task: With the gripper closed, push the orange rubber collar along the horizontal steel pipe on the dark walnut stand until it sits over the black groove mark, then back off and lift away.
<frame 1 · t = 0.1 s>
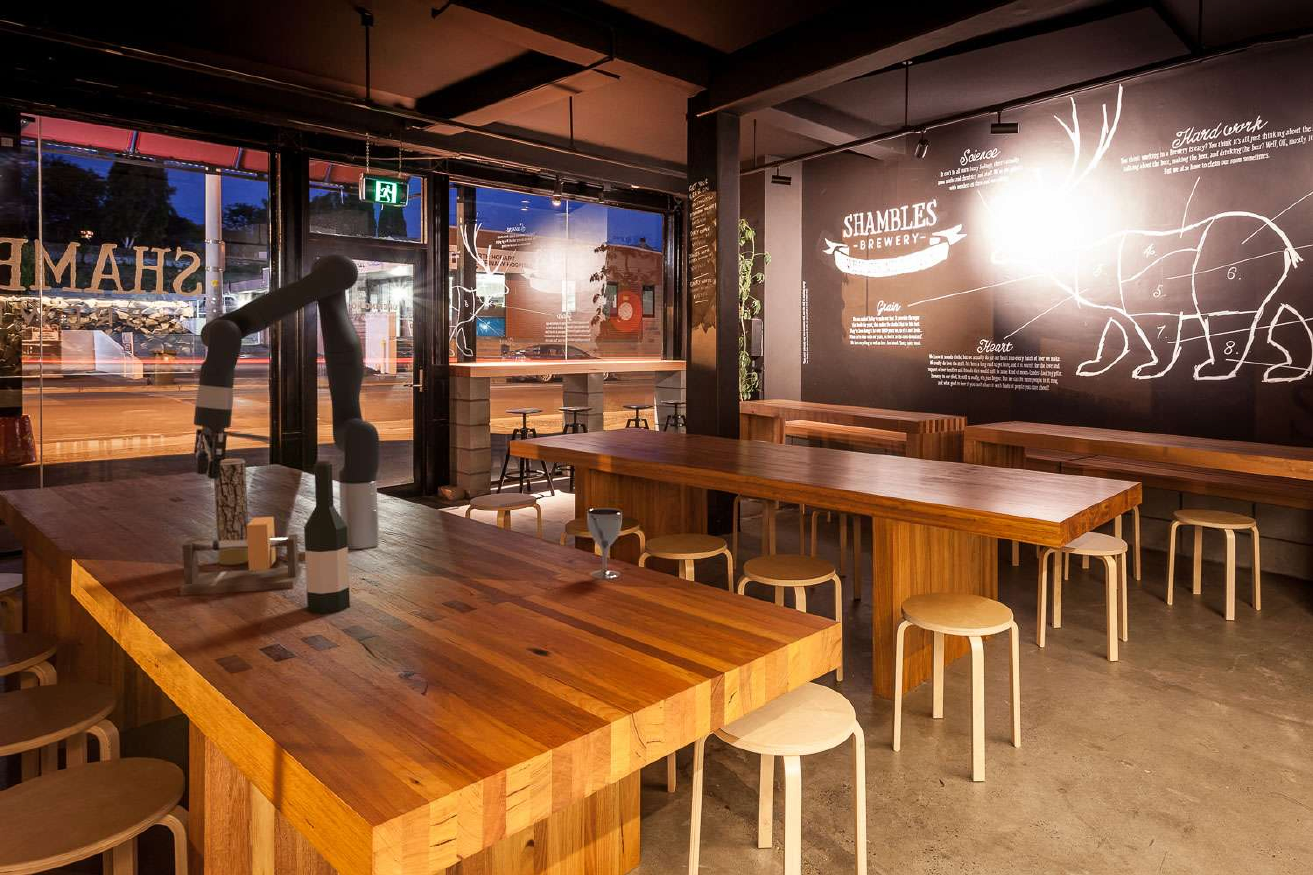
hand: (207, 476, 190), 22 cm above the table, tool pointing down, fingers open, 8 cm apart
bark log section: (234, 563, 200), on the table
pipe stand: (243, 583, 182), on the table
collar: (261, 543, 182), point 9 cm above the table, slide at 0.0 cm
wine glass: (604, 575, 191), on the table
wine bottle: (328, 608, 166), on the table
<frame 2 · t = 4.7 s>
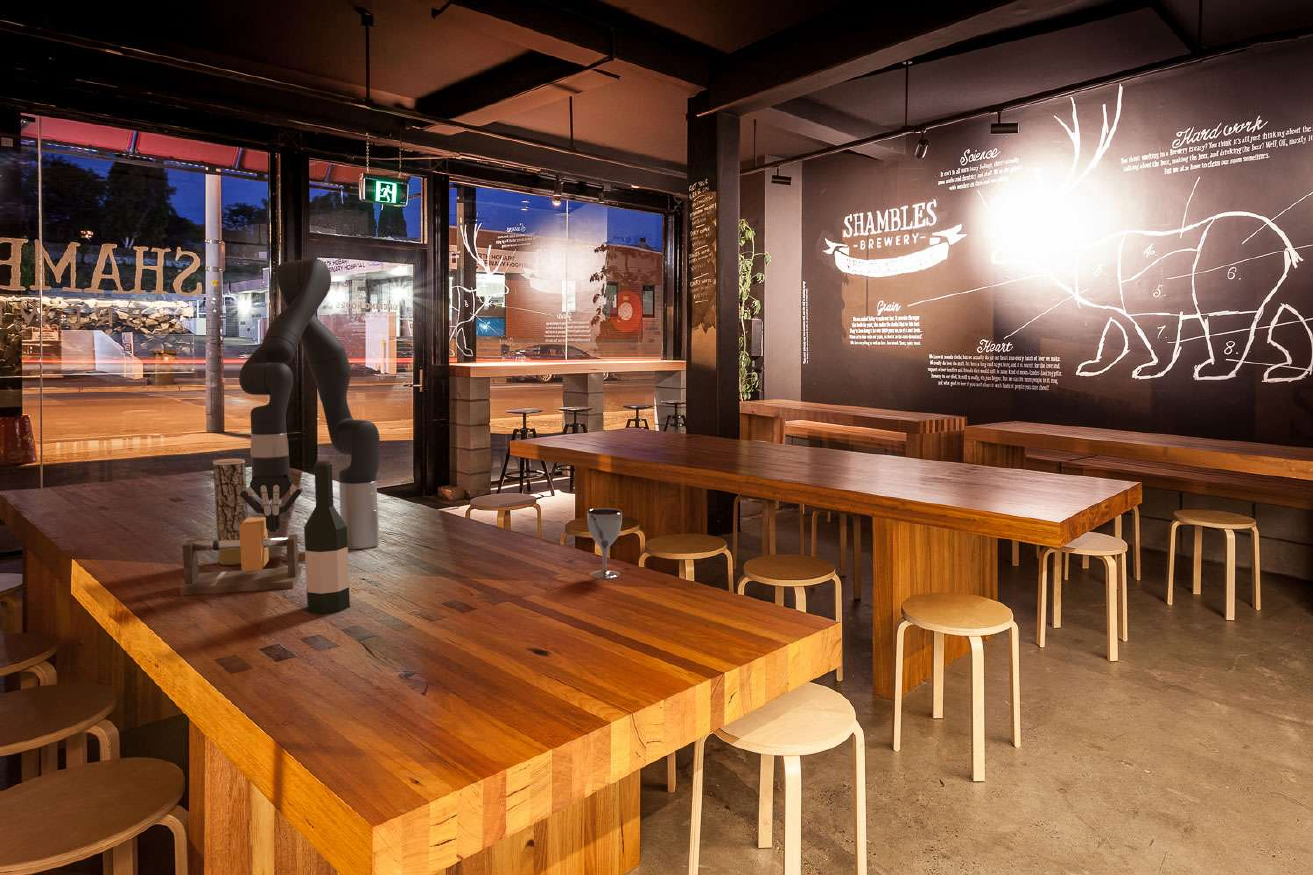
hand: (273, 531, 182), 12 cm above the table, tool pointing down, fingers closed
collar: (254, 543, 182), point 9 cm above the table, slide at 1.4 cm, touching gripper
everything else where it was.
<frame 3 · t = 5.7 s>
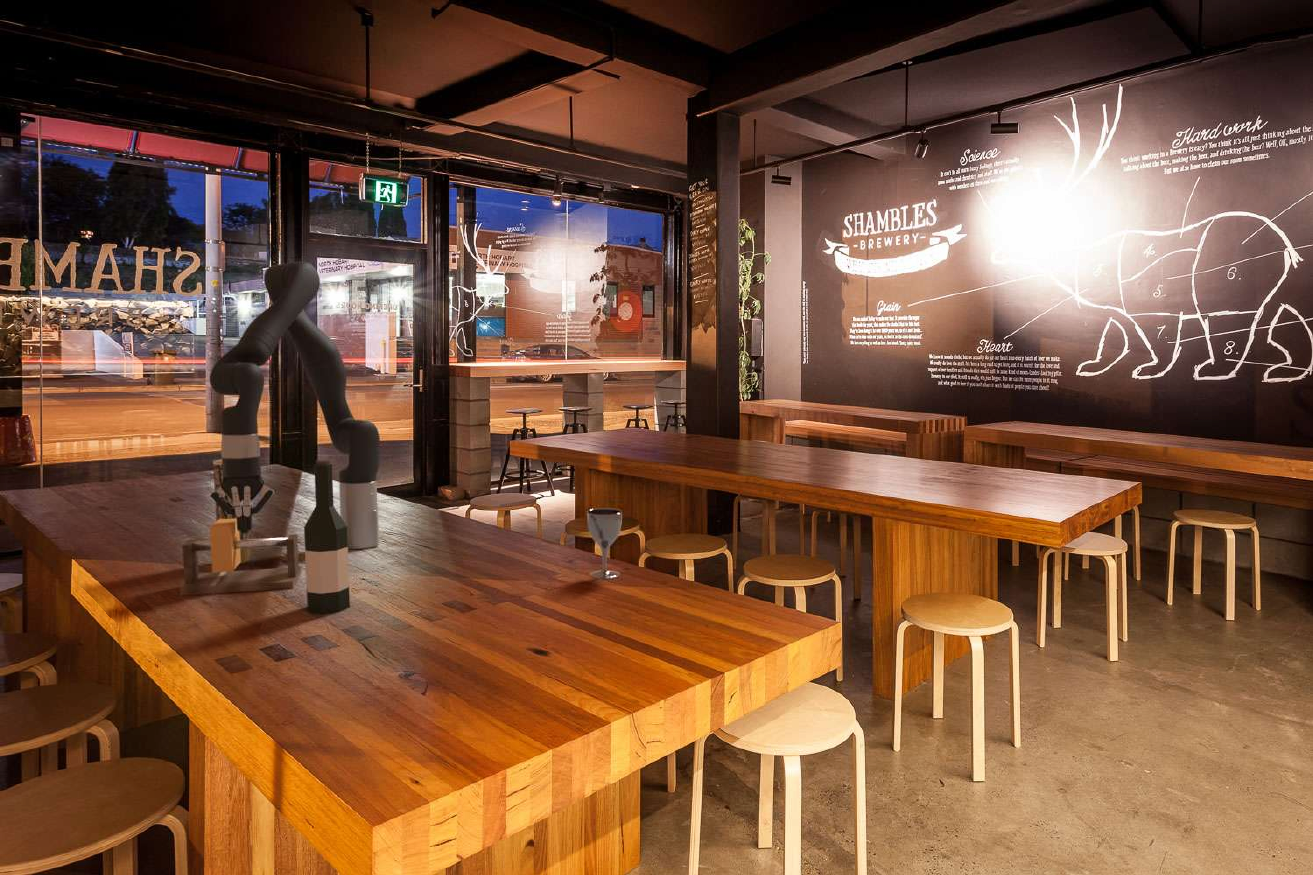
hand: (245, 532, 181), 12 cm above the table, tool pointing down, fingers closed
collar: (225, 544, 180), point 9 cm above the table, slide at 7.2 cm, touching gripper
everything else where it was.
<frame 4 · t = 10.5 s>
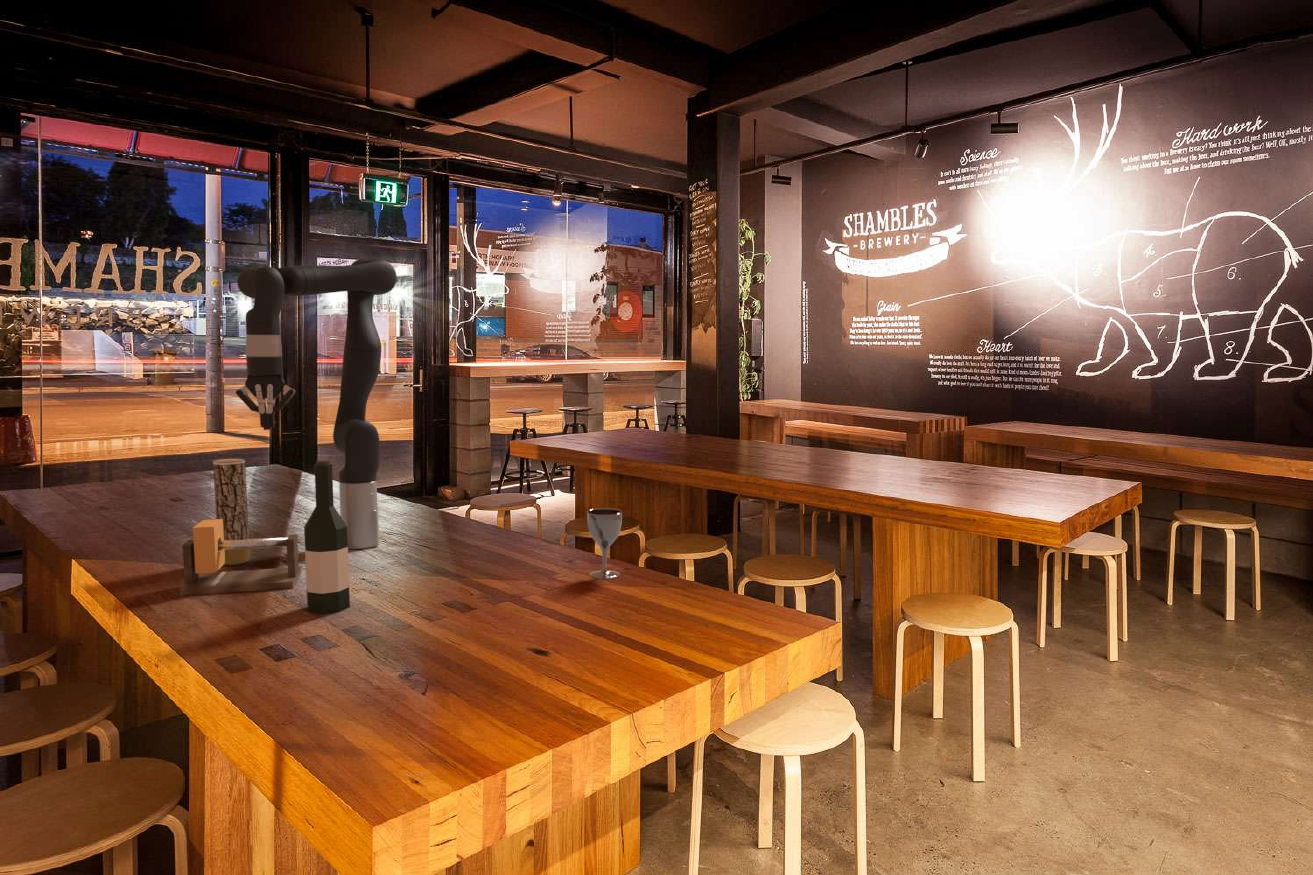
hand: (267, 429, 192), 33 cm above the table, tool pointing down, fingers closed
collar: (209, 545, 179), point 9 cm above the table, slide at 10.4 cm
everything else where it was.
at the end: collar slide at 10.4 cm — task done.
